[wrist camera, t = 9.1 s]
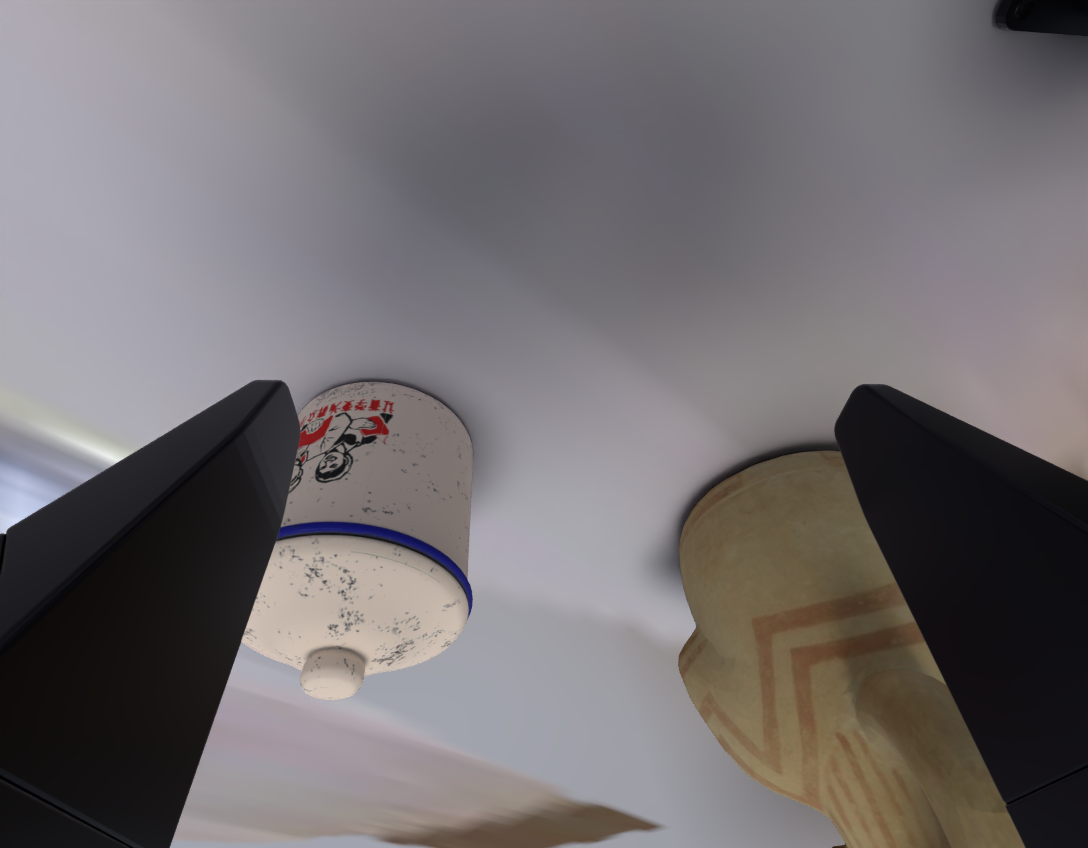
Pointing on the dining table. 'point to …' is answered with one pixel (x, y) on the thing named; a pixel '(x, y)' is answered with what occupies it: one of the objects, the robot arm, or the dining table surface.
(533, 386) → the dining table surface
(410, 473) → the teacup with lid
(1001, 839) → the ceramic vessel
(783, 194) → the dining table surface
